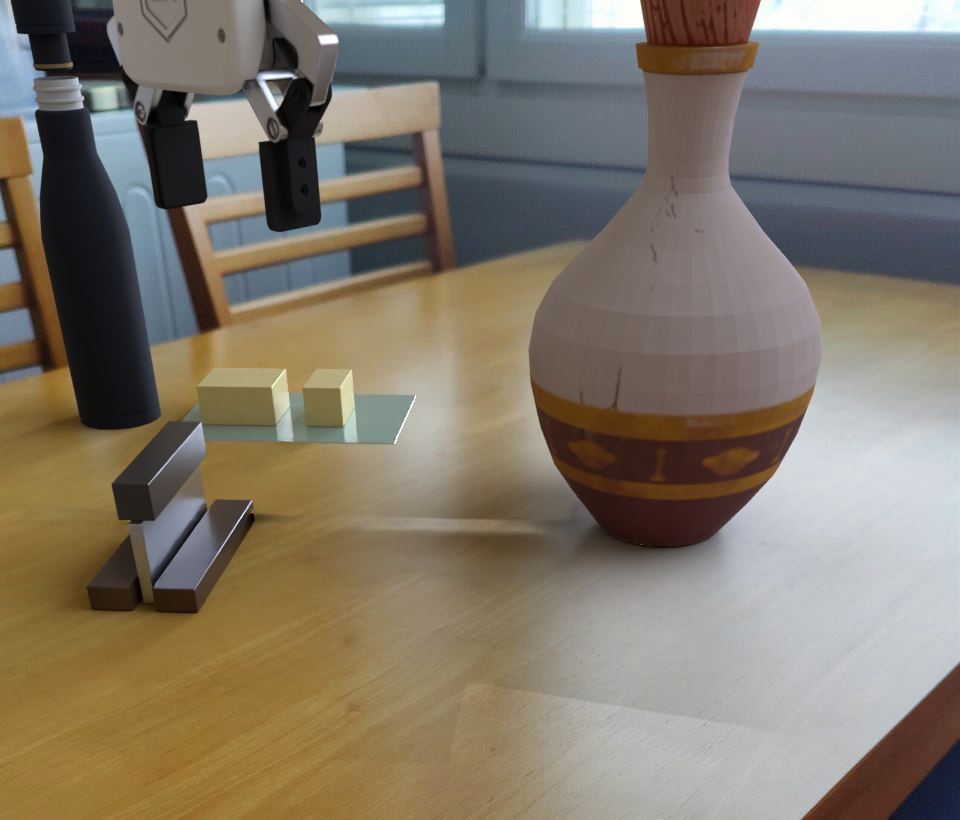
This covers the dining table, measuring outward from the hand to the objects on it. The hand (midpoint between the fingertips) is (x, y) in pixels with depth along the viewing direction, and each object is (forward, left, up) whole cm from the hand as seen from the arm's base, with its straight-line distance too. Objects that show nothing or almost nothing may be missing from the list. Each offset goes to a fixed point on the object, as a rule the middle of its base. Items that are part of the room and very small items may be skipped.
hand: (236, 216), depth 65 cm
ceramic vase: (+25, +9, -20) cm, 33 cm away
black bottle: (-19, +25, -20) cm, 37 cm away
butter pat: (-2, +26, -19) cm, 32 cm away
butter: (-8, +26, -19) cm, 33 cm away
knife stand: (-6, 0, -20) cm, 21 cm away
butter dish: (-4, +26, -20) cm, 33 cm away
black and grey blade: (-6, 0, -20) cm, 21 cm away
